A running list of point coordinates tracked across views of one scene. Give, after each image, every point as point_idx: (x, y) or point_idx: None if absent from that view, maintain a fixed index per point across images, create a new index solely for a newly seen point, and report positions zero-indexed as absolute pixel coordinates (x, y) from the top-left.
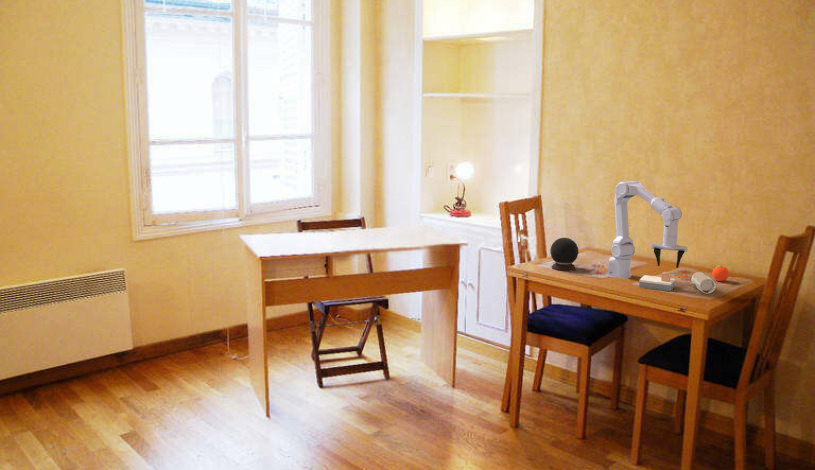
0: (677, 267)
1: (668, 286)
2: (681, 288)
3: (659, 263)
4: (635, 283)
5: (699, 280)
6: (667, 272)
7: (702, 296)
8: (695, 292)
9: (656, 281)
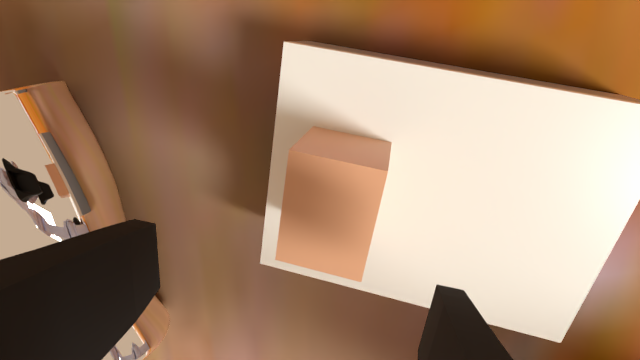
0: (131, 220)
1: (315, 44)
2: (233, 206)
3: (434, 336)
4: (616, 271)
5: (17, 144)
6: (312, 255)
7: (61, 4)
8: (129, 118)
9: (450, 92)
